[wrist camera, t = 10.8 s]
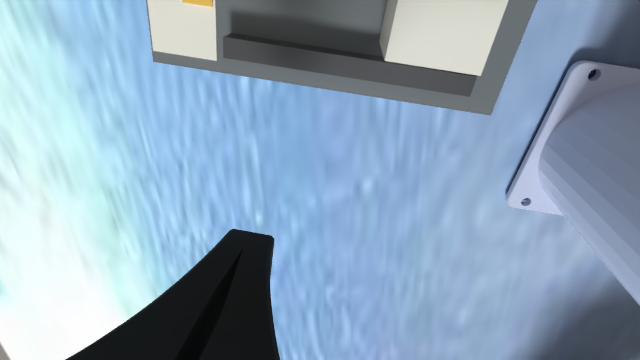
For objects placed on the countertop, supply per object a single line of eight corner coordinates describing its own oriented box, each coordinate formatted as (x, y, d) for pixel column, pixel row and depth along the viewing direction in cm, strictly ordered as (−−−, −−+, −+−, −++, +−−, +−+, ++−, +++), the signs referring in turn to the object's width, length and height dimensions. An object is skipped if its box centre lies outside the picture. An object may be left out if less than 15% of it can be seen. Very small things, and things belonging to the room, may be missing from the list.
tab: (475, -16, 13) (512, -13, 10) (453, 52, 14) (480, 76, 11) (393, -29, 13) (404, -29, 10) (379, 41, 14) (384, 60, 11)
